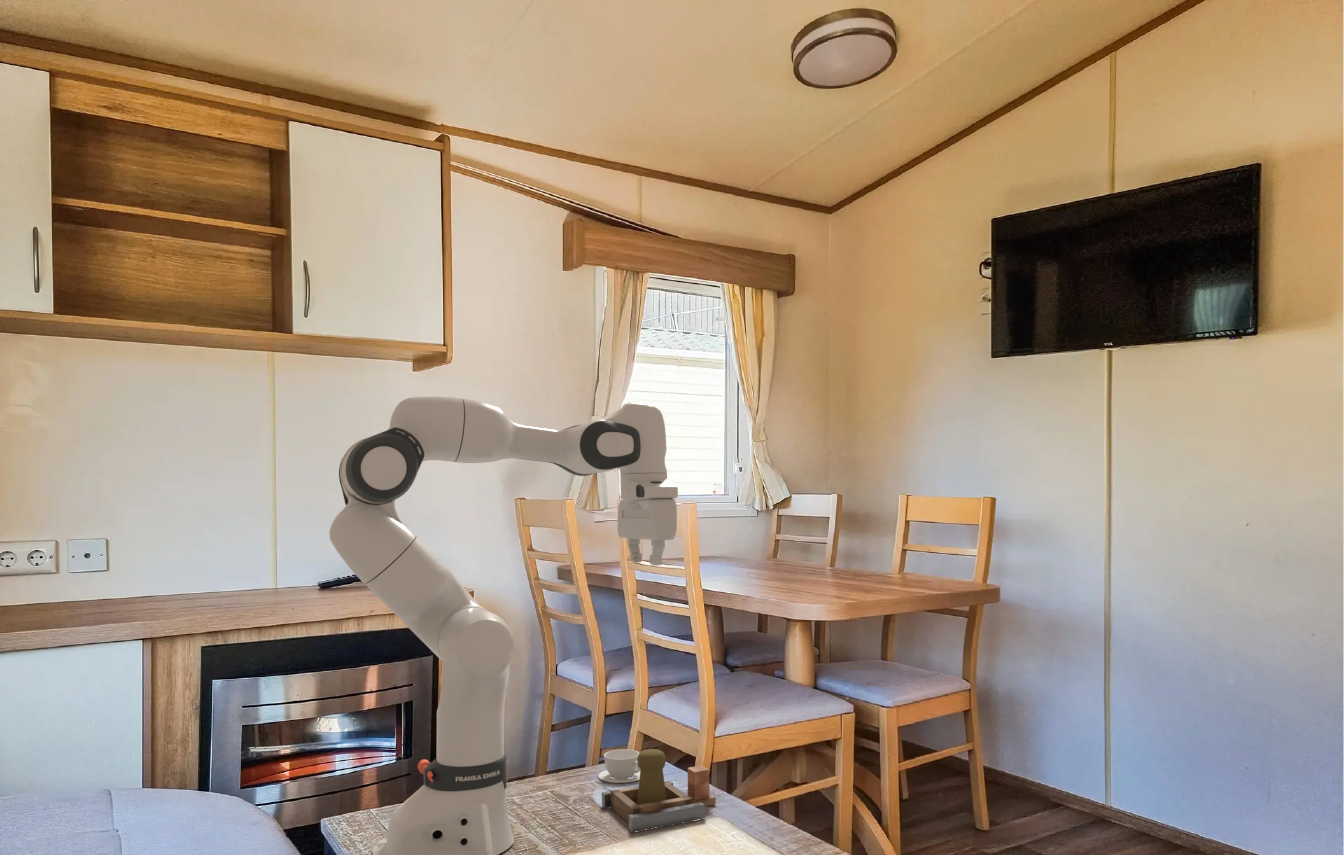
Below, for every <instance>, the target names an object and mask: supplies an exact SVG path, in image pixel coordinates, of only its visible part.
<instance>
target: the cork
mask: <svg viewBox="0 0 1344 855" xmlns="http://www.w3.org/2000/svg"><path fill="white" fill-rule="evenodd" d="M637 763H638V767H639V768H640V779H639V780H638V781H639V782H638V786H639V788H638V797H637V805H641V804H647V803H652V802H658V801H664V800H667V797H666V790H665V783H664V782H665V778H664V776H665V775H664V767H665V766H666V755H665V753H664V752H663V750H661V749H656V748H649V749H643V750H642V751H640V752H639V755H638V758H637Z"/></svg>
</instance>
